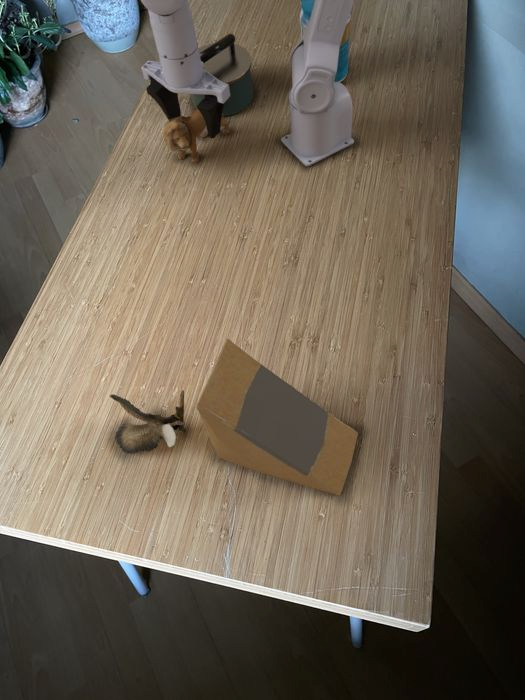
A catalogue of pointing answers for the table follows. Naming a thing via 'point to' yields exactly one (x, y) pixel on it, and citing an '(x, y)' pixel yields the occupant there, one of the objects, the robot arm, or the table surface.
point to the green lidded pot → (228, 72)
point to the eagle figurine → (148, 428)
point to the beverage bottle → (342, 67)
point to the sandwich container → (273, 425)
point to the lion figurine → (187, 133)
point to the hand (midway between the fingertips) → (195, 127)
